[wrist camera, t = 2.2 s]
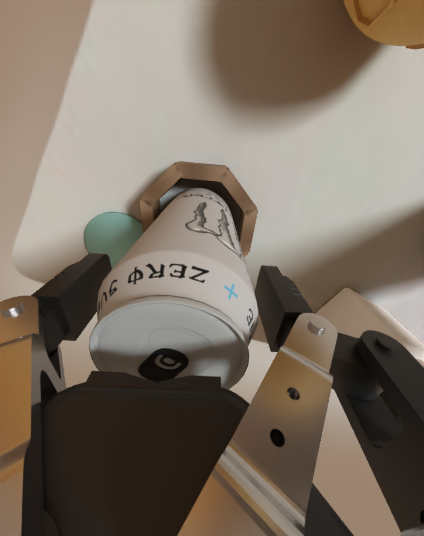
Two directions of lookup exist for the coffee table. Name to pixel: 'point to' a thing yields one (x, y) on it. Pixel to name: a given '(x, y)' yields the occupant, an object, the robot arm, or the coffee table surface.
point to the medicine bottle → (369, 326)
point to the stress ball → (390, 21)
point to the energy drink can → (179, 298)
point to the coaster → (112, 235)
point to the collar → (201, 172)
